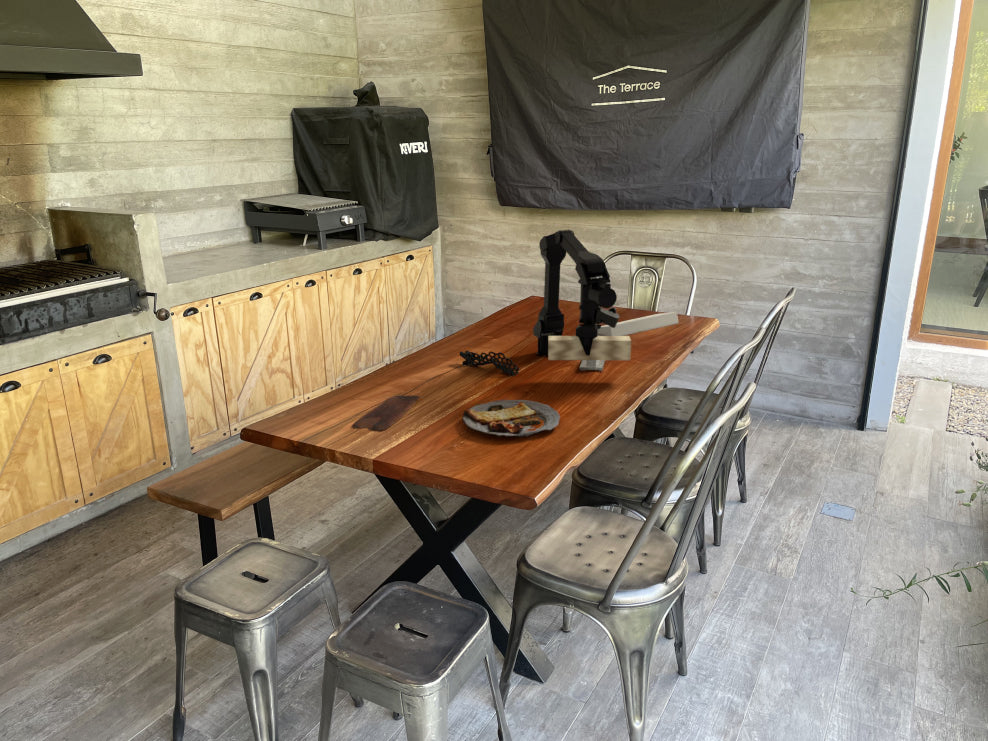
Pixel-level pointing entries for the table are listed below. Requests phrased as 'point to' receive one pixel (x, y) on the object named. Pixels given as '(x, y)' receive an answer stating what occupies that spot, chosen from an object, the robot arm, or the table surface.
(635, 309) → the table surface
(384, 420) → the wooden tablet
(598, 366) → the ridge
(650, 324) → the decorative molding
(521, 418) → the food plate
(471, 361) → the decorative element
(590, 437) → the table surface
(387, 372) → the table surface
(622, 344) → the maple beam
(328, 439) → the table surface
